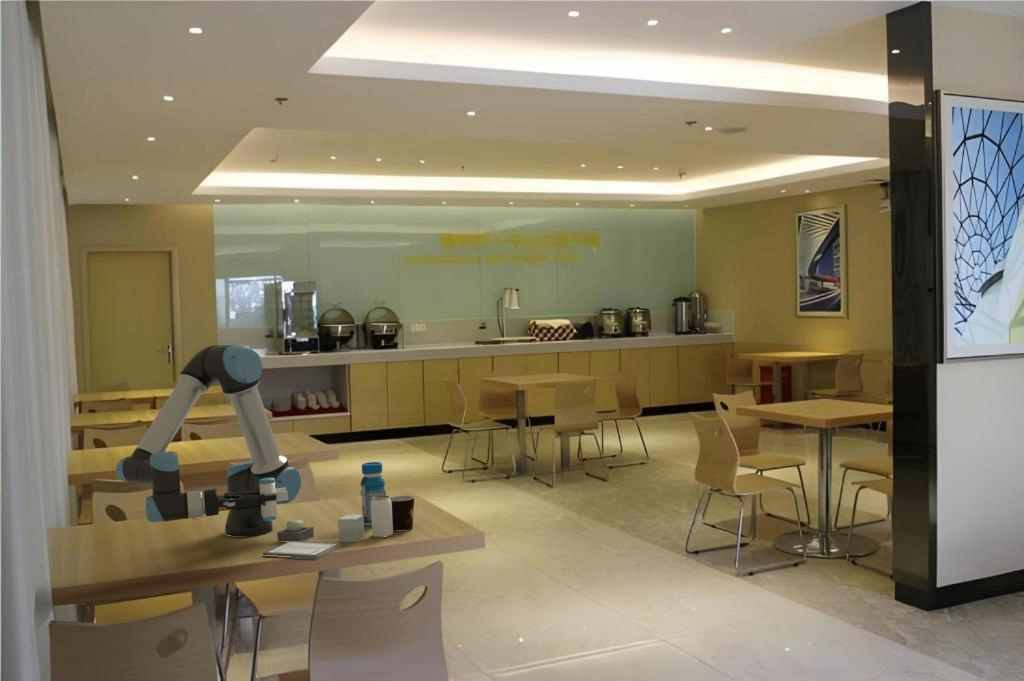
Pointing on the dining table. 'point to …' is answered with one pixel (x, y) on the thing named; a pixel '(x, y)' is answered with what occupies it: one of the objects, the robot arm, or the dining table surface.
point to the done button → (295, 526)
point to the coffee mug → (402, 512)
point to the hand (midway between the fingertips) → (286, 493)
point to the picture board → (303, 549)
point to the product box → (351, 528)
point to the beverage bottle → (371, 487)
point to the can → (381, 516)
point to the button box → (295, 534)
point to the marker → (270, 508)
